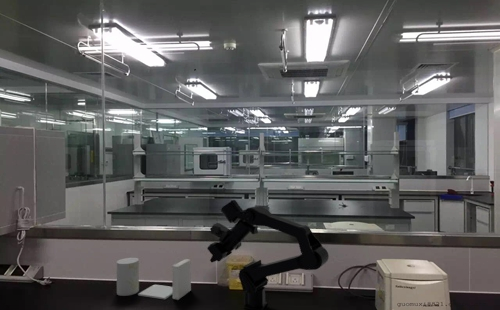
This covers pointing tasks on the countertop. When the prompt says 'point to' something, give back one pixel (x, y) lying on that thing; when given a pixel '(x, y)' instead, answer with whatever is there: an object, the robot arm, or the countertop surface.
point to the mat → (157, 292)
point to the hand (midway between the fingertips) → (211, 261)
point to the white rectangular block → (181, 278)
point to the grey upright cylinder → (127, 276)
